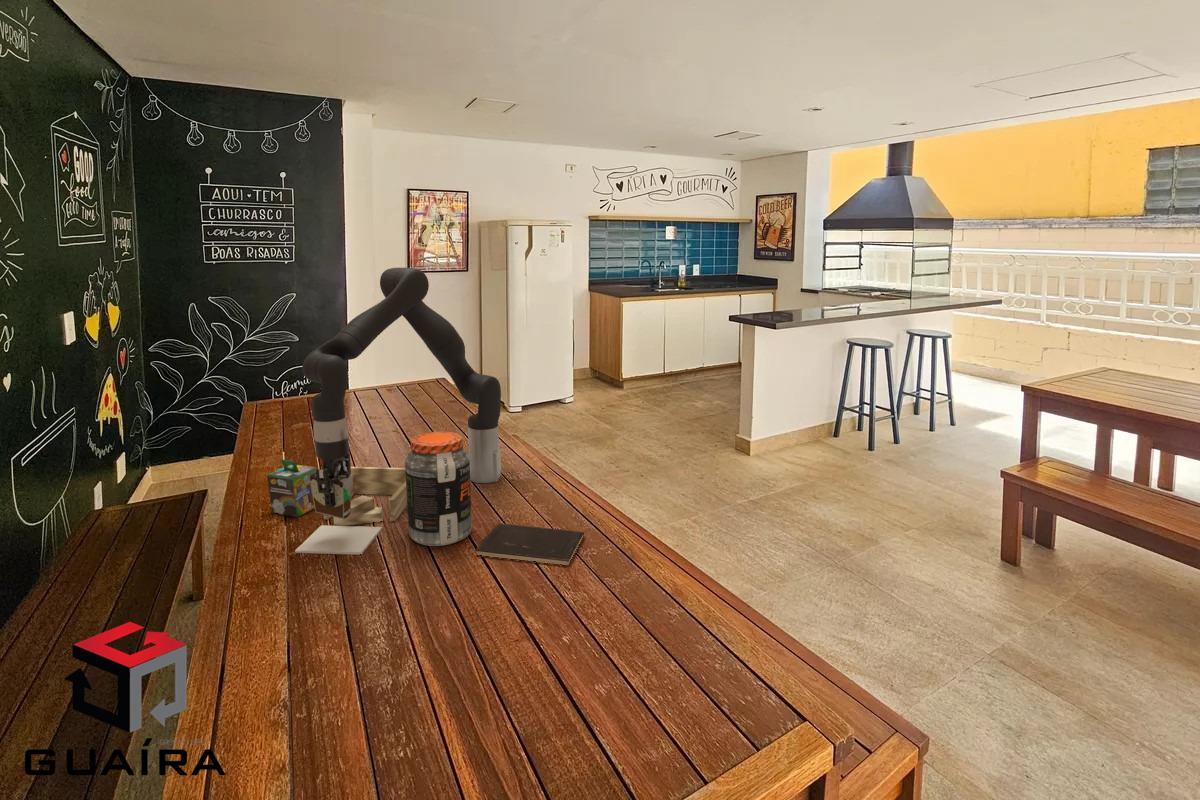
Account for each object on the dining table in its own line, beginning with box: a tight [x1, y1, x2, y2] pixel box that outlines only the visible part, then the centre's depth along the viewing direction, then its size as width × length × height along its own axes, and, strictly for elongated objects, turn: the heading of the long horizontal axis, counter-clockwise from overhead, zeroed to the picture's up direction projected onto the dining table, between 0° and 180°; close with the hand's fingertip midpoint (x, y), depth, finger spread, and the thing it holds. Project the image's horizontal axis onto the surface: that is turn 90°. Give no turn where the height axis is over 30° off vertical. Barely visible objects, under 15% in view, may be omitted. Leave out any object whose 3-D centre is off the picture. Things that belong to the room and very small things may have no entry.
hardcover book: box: [474, 522, 585, 566], centre depth 162 cm, size 16×23×2 cm
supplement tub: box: [404, 431, 473, 547], centre depth 165 cm, size 16×16×26 cm
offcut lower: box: [332, 506, 384, 526], centre depth 175 cm, size 12×4×3 cm, turn 106°
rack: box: [323, 466, 407, 522], centre depth 184 cm, size 19×19×8 cm
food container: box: [308, 470, 353, 519], centre depth 161 cm, size 12×6×10 cm, turn 65°
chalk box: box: [266, 458, 317, 518], centre depth 180 cm, size 9×9×15 cm
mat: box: [294, 524, 383, 556], centre depth 164 cm, size 16×14×1 cm
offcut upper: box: [347, 494, 376, 519], centre depth 174 cm, size 8×4×3 cm, turn 152°
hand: (337, 500), depth 161 cm, fingers closed on food container, 7 cm apart
